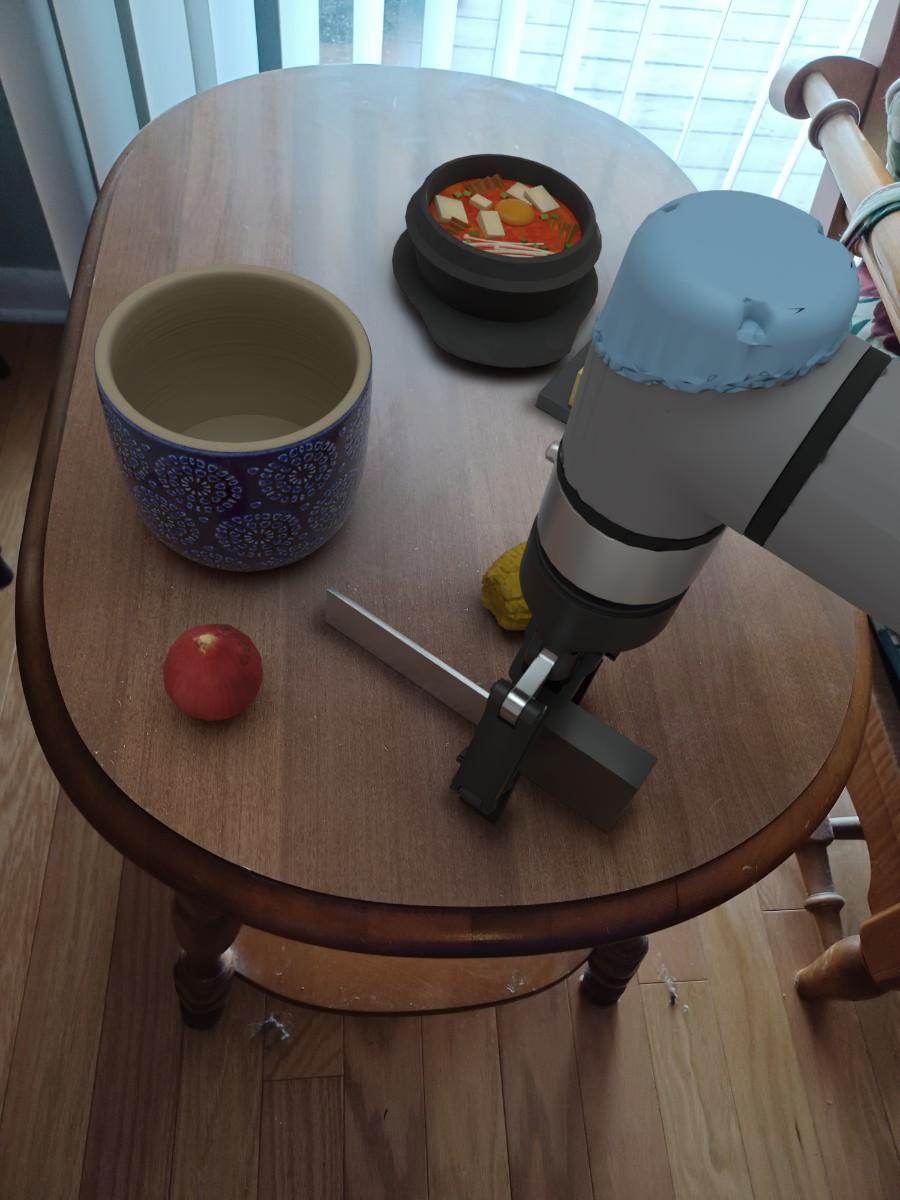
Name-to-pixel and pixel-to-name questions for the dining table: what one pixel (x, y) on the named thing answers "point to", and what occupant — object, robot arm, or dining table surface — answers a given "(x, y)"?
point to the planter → (237, 412)
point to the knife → (561, 752)
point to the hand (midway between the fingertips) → (520, 751)
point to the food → (506, 590)
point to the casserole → (500, 259)
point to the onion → (212, 672)
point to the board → (562, 388)
